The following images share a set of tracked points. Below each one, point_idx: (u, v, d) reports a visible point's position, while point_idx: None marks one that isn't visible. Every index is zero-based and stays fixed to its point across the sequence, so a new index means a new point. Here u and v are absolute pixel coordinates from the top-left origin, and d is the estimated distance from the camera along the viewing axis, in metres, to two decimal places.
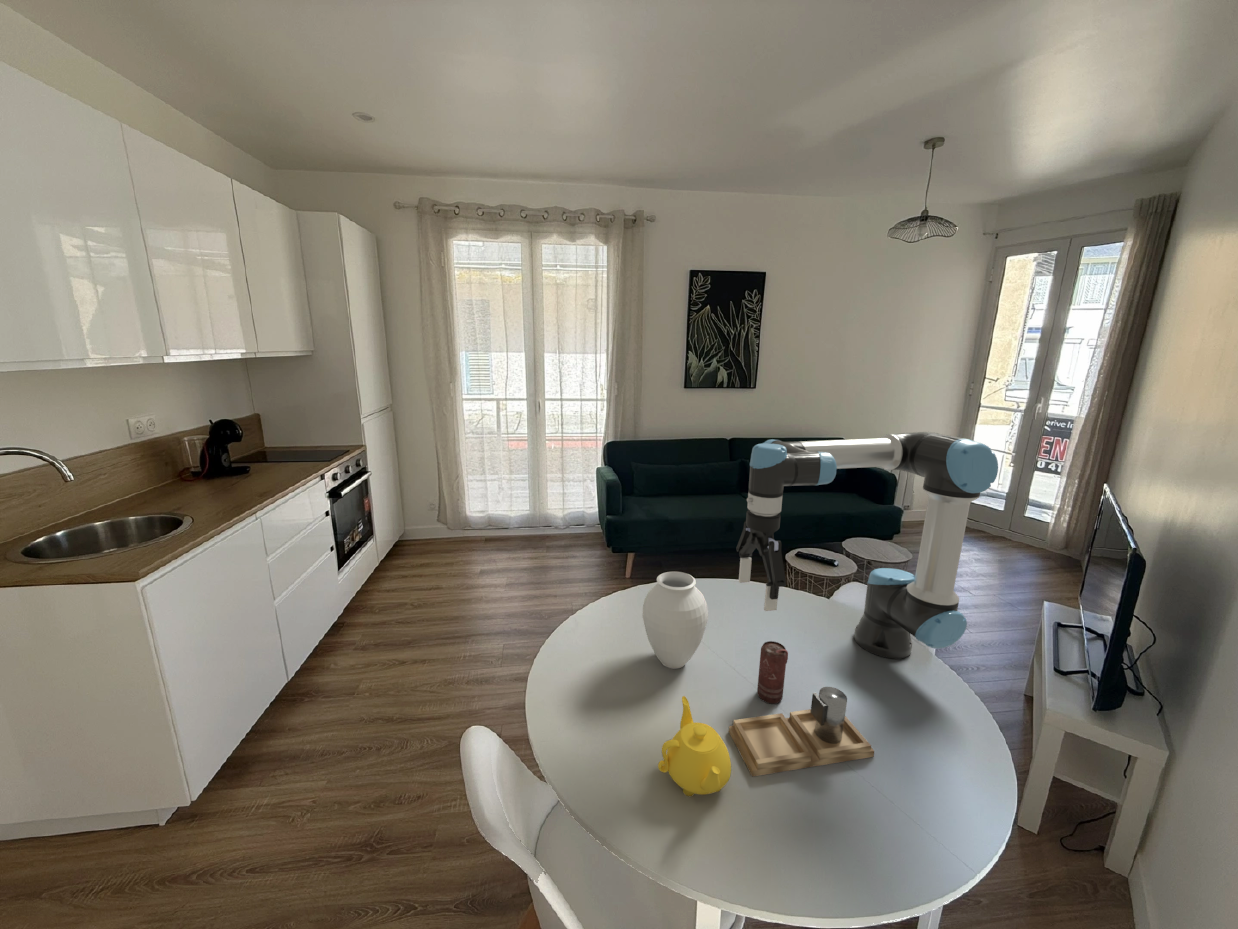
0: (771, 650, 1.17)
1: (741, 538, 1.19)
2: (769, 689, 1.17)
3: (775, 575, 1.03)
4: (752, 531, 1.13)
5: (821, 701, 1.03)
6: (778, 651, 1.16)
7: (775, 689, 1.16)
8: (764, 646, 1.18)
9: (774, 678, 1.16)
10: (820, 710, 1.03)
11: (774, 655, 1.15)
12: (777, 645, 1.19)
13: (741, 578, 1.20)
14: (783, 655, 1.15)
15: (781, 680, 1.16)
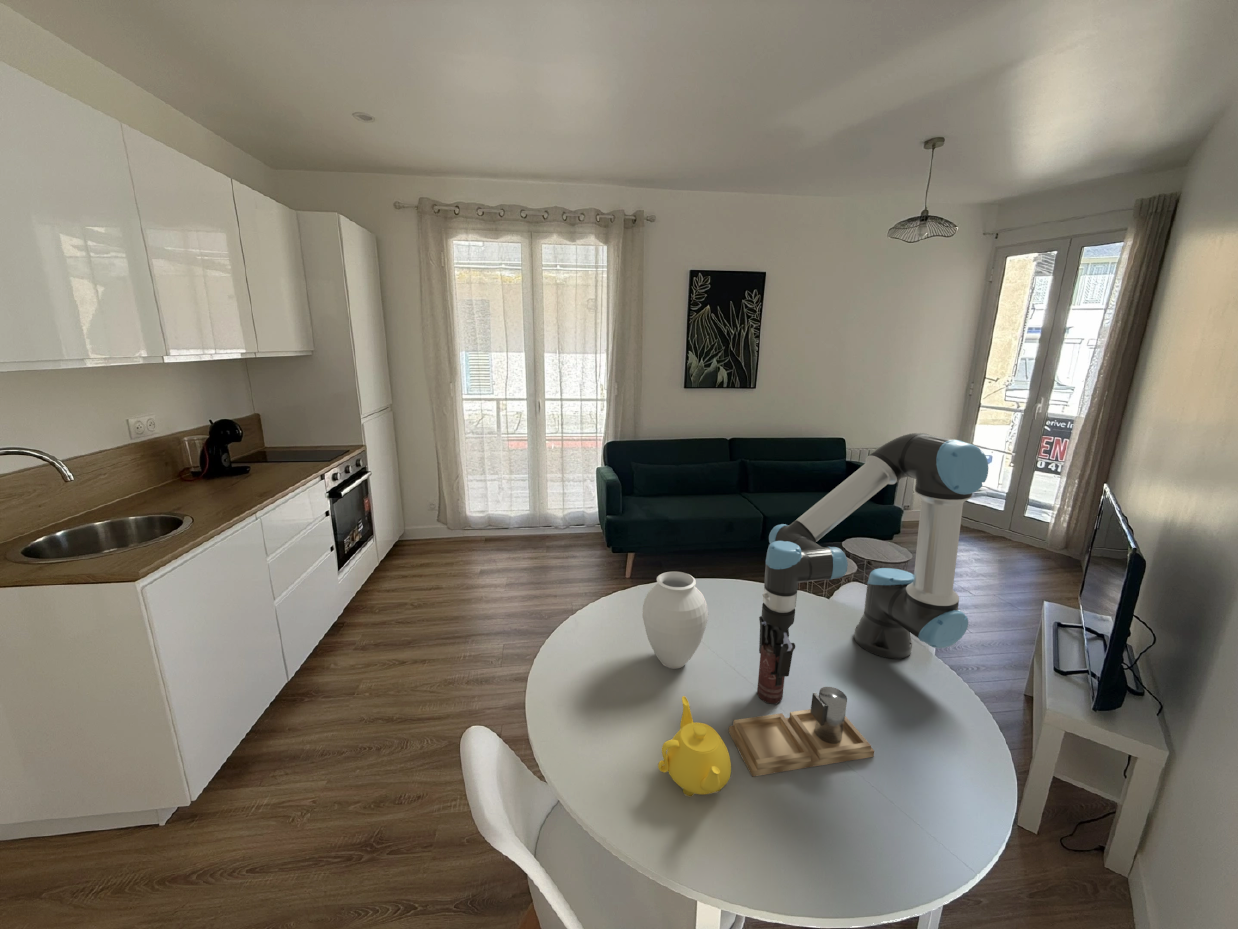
0: (771, 650, 1.17)
1: (760, 636, 1.22)
2: (769, 689, 1.17)
3: (781, 669, 1.12)
4: None
5: (821, 701, 1.03)
6: None
7: (775, 689, 1.16)
8: (764, 646, 1.18)
9: (774, 678, 1.16)
10: (820, 710, 1.03)
11: (774, 655, 1.15)
12: None
13: None
14: None
15: None
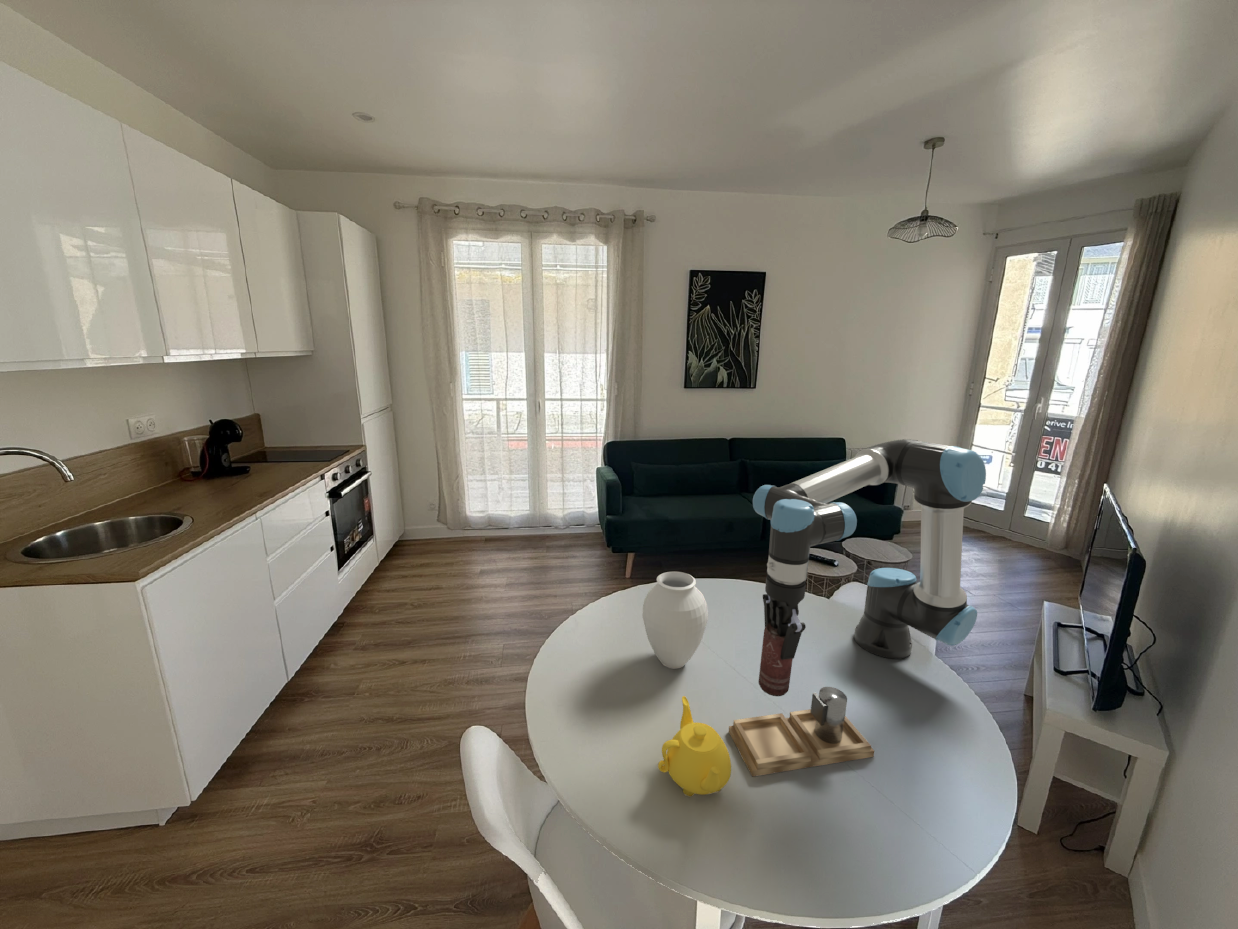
0: (776, 632, 0.97)
1: (765, 619, 1.01)
2: (774, 679, 0.97)
3: (786, 652, 0.94)
4: (772, 597, 0.98)
5: (821, 701, 1.03)
6: None
7: (780, 679, 0.97)
8: (768, 627, 0.99)
9: (780, 665, 0.96)
10: (820, 710, 1.03)
11: (780, 638, 0.95)
12: None
13: None
14: None
15: (788, 668, 0.97)
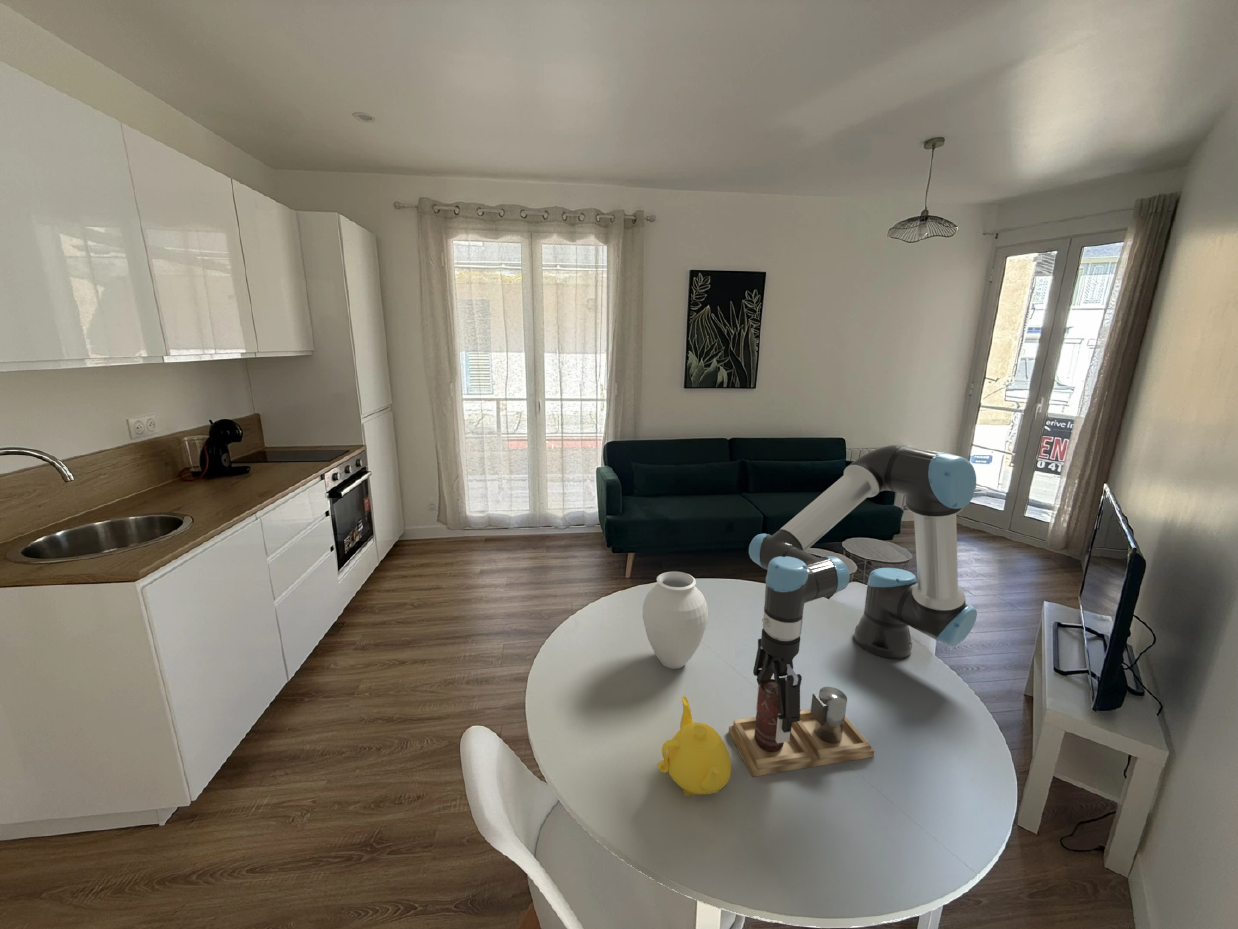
0: (771, 691, 1.00)
1: (757, 659, 1.06)
2: (769, 736, 1.01)
3: (790, 711, 0.94)
4: None
5: (821, 701, 1.03)
6: None
7: (775, 736, 1.00)
8: (762, 685, 1.02)
9: (775, 723, 1.00)
10: (820, 710, 1.03)
11: (774, 697, 0.98)
12: None
13: None
14: None
15: None
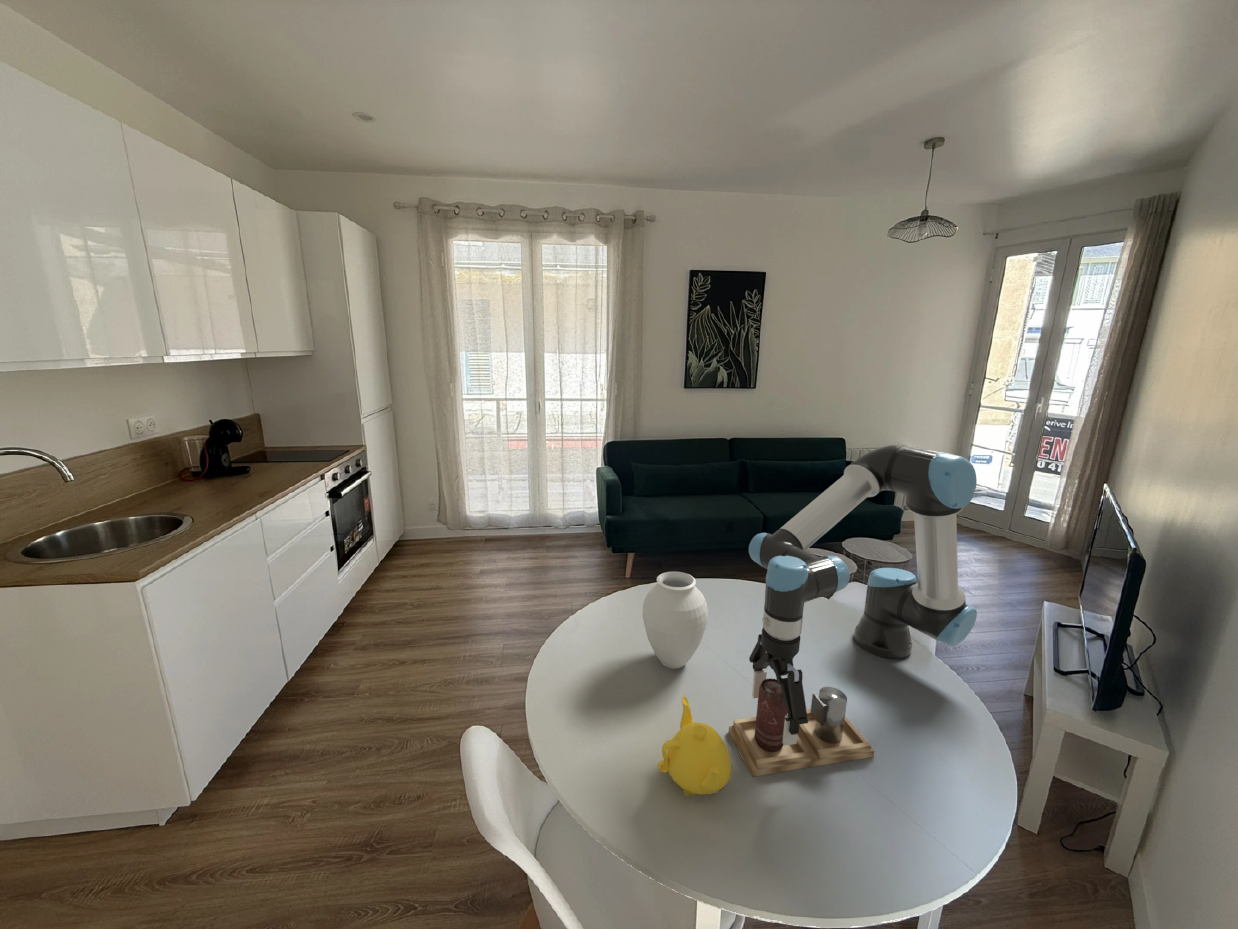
0: (771, 690, 1.01)
1: (755, 650, 1.07)
2: (769, 735, 1.01)
3: (796, 711, 0.92)
4: None
5: (821, 701, 1.03)
6: (779, 691, 1.00)
7: (775, 736, 1.00)
8: (763, 685, 1.02)
9: (775, 722, 1.00)
10: (820, 710, 1.03)
11: (775, 696, 0.99)
12: (777, 683, 1.03)
13: (755, 693, 1.08)
14: None
15: (783, 725, 1.00)
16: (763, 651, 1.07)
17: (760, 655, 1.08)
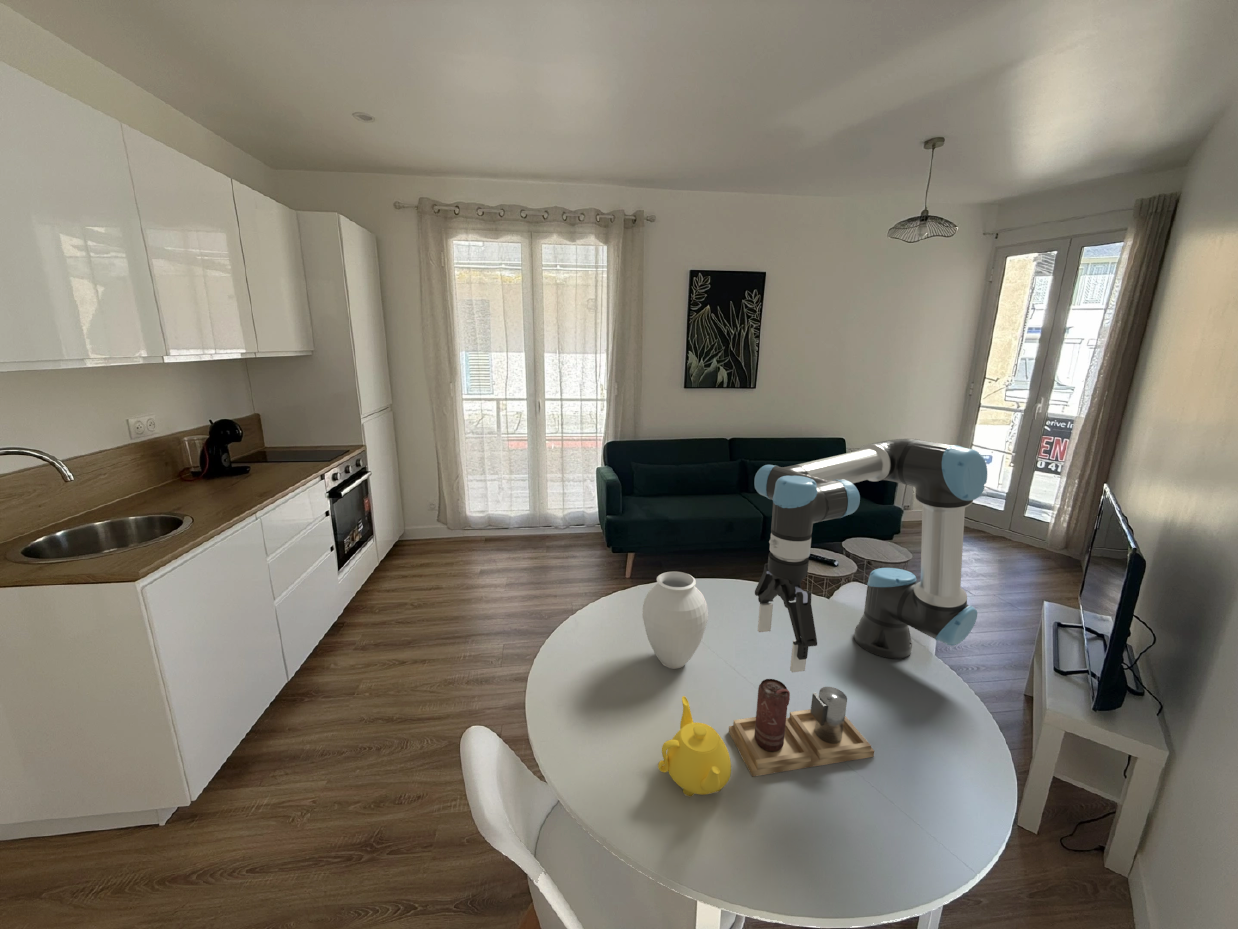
0: (770, 690, 1.00)
1: (761, 581, 1.03)
2: (769, 736, 1.01)
3: (805, 632, 0.88)
4: (775, 576, 0.97)
5: (821, 701, 1.03)
6: (778, 691, 1.00)
7: (775, 736, 1.00)
8: (762, 685, 1.02)
9: (775, 723, 1.00)
10: (820, 710, 1.03)
11: (774, 697, 0.99)
12: (777, 683, 1.03)
13: (761, 627, 1.05)
14: (784, 697, 0.99)
15: (782, 725, 1.00)
16: (769, 582, 1.03)
17: (766, 587, 1.04)
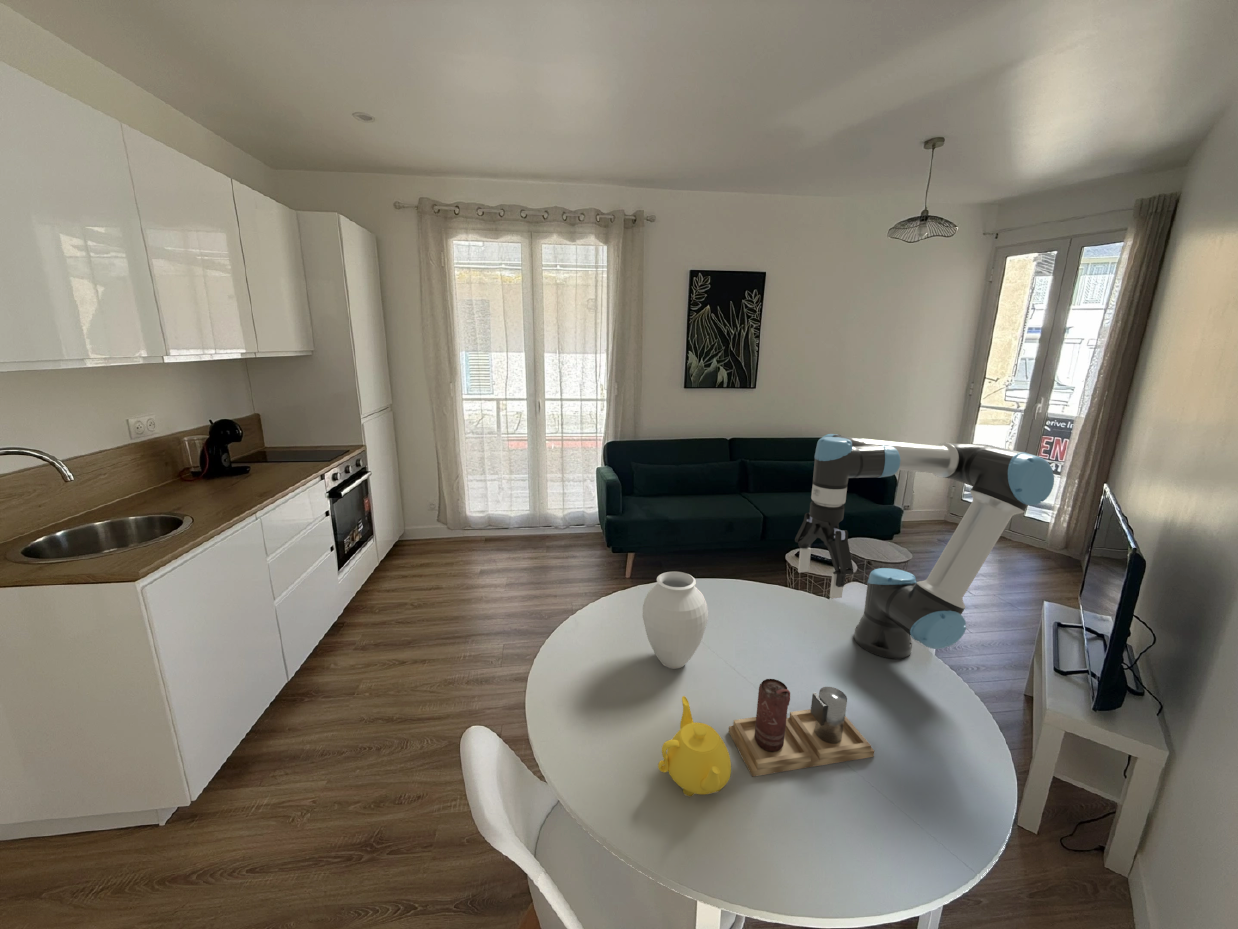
0: (771, 690, 1.01)
1: (801, 529, 1.23)
2: (769, 736, 1.01)
3: (843, 563, 1.07)
4: (815, 522, 1.17)
5: (821, 701, 1.03)
6: (779, 691, 1.00)
7: (775, 736, 1.00)
8: (763, 685, 1.02)
9: (775, 723, 1.00)
10: (820, 710, 1.03)
11: (775, 697, 0.99)
12: (777, 683, 1.03)
13: (801, 568, 1.24)
14: (785, 697, 0.99)
15: (783, 725, 1.00)
16: (808, 529, 1.23)
17: (805, 534, 1.24)
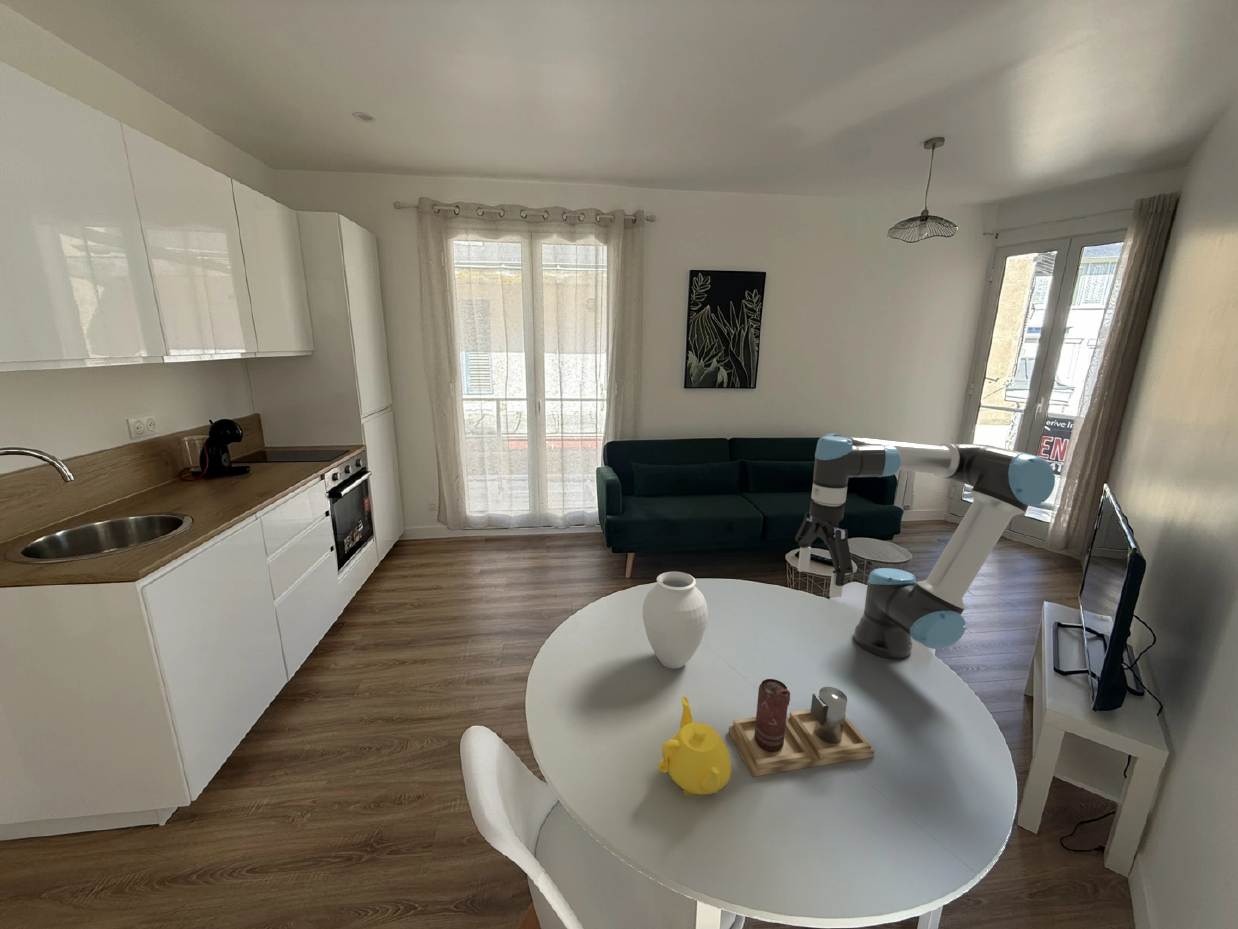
0: (771, 690, 1.00)
1: (801, 528, 1.23)
2: (769, 736, 1.01)
3: (843, 562, 1.07)
4: (815, 521, 1.17)
5: (821, 701, 1.03)
6: (779, 692, 1.00)
7: (775, 736, 1.00)
8: (762, 685, 1.02)
9: (775, 723, 1.00)
10: (820, 710, 1.03)
11: (775, 697, 0.99)
12: (777, 683, 1.03)
13: (800, 567, 1.24)
14: (785, 697, 0.99)
15: (782, 725, 1.00)
16: (808, 529, 1.23)
17: (805, 533, 1.24)
